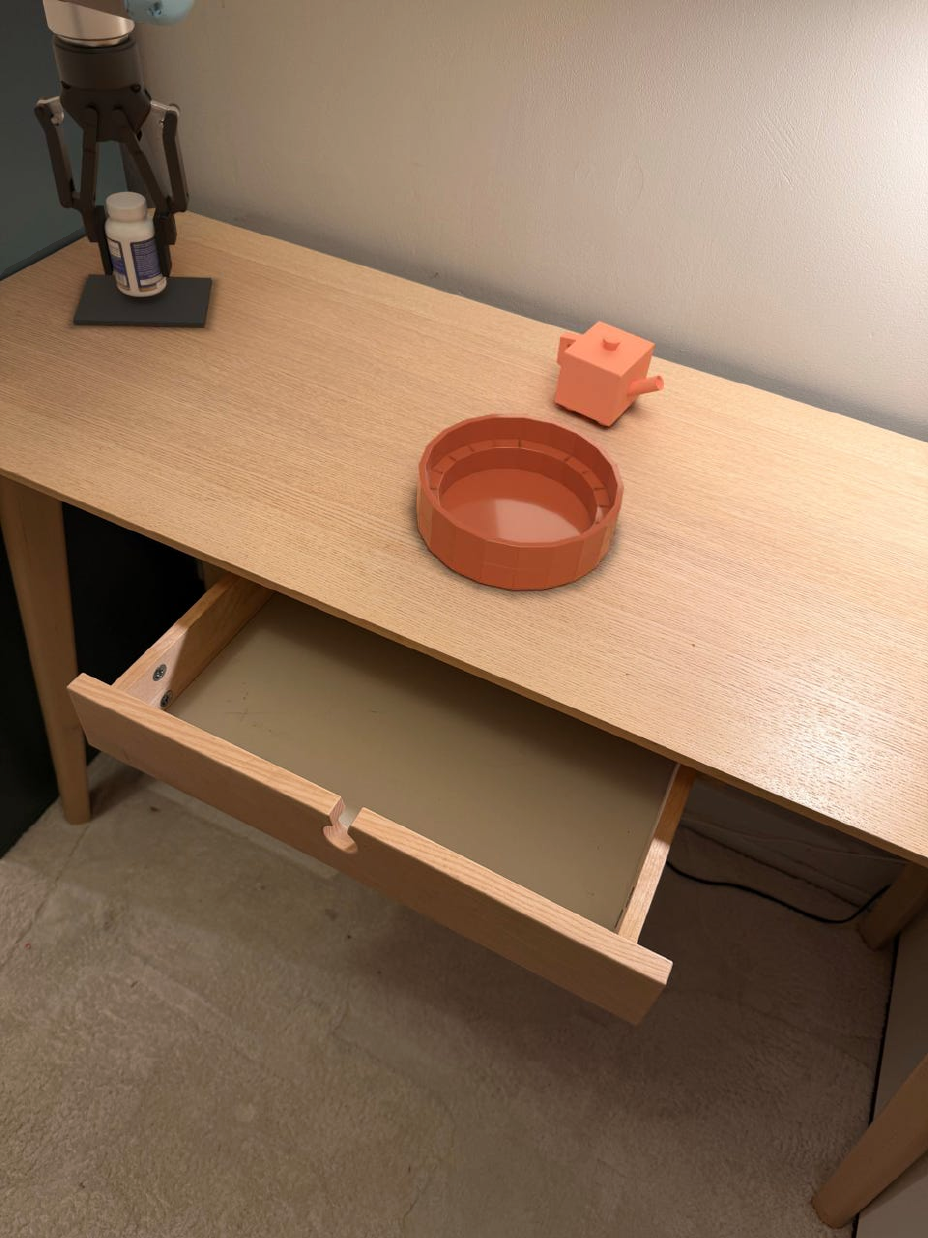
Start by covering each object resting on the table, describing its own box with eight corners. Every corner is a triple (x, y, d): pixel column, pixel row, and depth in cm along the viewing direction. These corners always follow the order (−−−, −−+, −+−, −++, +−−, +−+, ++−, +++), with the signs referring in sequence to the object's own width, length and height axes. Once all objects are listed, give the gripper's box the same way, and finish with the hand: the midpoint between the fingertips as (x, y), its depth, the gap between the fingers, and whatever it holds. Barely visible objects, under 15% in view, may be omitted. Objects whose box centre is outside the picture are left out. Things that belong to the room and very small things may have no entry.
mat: (74, 324, 100) (72, 319, 100) (89, 278, 107) (88, 273, 106) (204, 327, 102) (203, 322, 102) (212, 281, 109) (211, 277, 108)
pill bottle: (171, 275, 105) (157, 190, 98) (162, 300, 101) (146, 213, 94) (123, 272, 104) (105, 186, 97) (112, 296, 101) (92, 209, 94)
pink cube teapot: (634, 446, 94) (653, 378, 88) (535, 401, 98) (547, 333, 92) (666, 411, 99) (686, 344, 92) (570, 370, 102) (584, 303, 96)
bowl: (423, 593, 78) (426, 547, 74) (411, 458, 90) (413, 412, 86) (629, 590, 80) (643, 546, 76) (590, 459, 92) (601, 414, 88)
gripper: (199, 25, 88) (226, 256, 105) (-3, 12, 85) (59, 250, 103) (191, 52, 83) (221, 289, 100) (-23, 39, 80) (45, 284, 98)
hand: (139, 269), depth 101 cm, fingers closed on pill bottle, 5 cm apart
